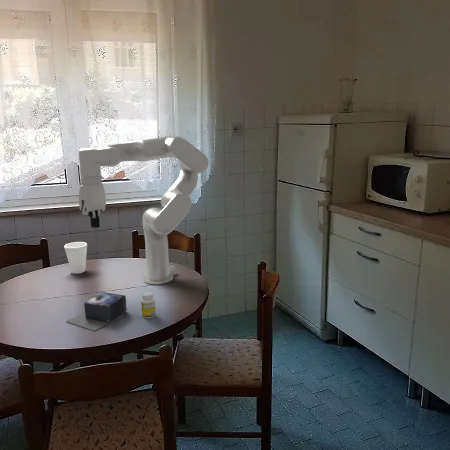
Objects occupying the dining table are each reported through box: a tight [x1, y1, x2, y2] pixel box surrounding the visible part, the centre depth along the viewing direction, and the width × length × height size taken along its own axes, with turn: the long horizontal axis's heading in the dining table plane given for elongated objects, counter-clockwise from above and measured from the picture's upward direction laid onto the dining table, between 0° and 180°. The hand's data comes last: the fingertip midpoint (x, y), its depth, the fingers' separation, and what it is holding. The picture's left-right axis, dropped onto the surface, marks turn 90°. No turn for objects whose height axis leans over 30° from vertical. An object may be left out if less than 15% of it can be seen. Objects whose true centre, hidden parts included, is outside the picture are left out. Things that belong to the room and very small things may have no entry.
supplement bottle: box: [140, 291, 156, 319], centre depth 156 cm, size 5×5×8 cm
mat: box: [65, 311, 125, 332], centre depth 156 cm, size 14×14×1 cm
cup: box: [63, 241, 88, 274], centre depth 202 cm, size 10×10×13 cm
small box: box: [83, 291, 128, 324], centre depth 157 cm, size 11×6×10 cm
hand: (95, 227), depth 173 cm, fingers closed
